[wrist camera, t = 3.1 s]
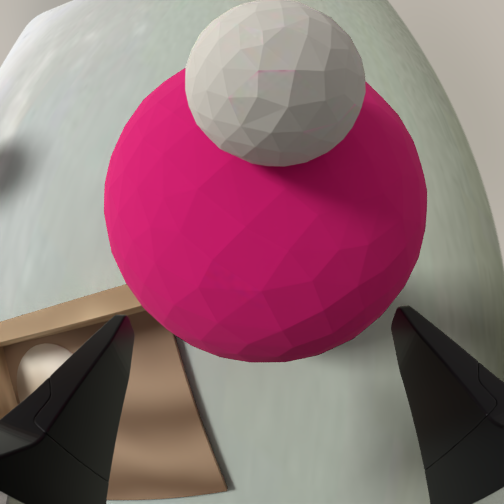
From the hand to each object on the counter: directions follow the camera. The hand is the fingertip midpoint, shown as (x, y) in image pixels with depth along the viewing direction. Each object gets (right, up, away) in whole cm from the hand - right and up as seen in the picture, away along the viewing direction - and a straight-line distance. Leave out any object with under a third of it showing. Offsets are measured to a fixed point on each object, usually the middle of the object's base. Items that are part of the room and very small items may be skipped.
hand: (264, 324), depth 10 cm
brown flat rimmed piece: (-13, -10, +10) cm, 19 cm away
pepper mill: (0, 0, +12) cm, 12 cm away
